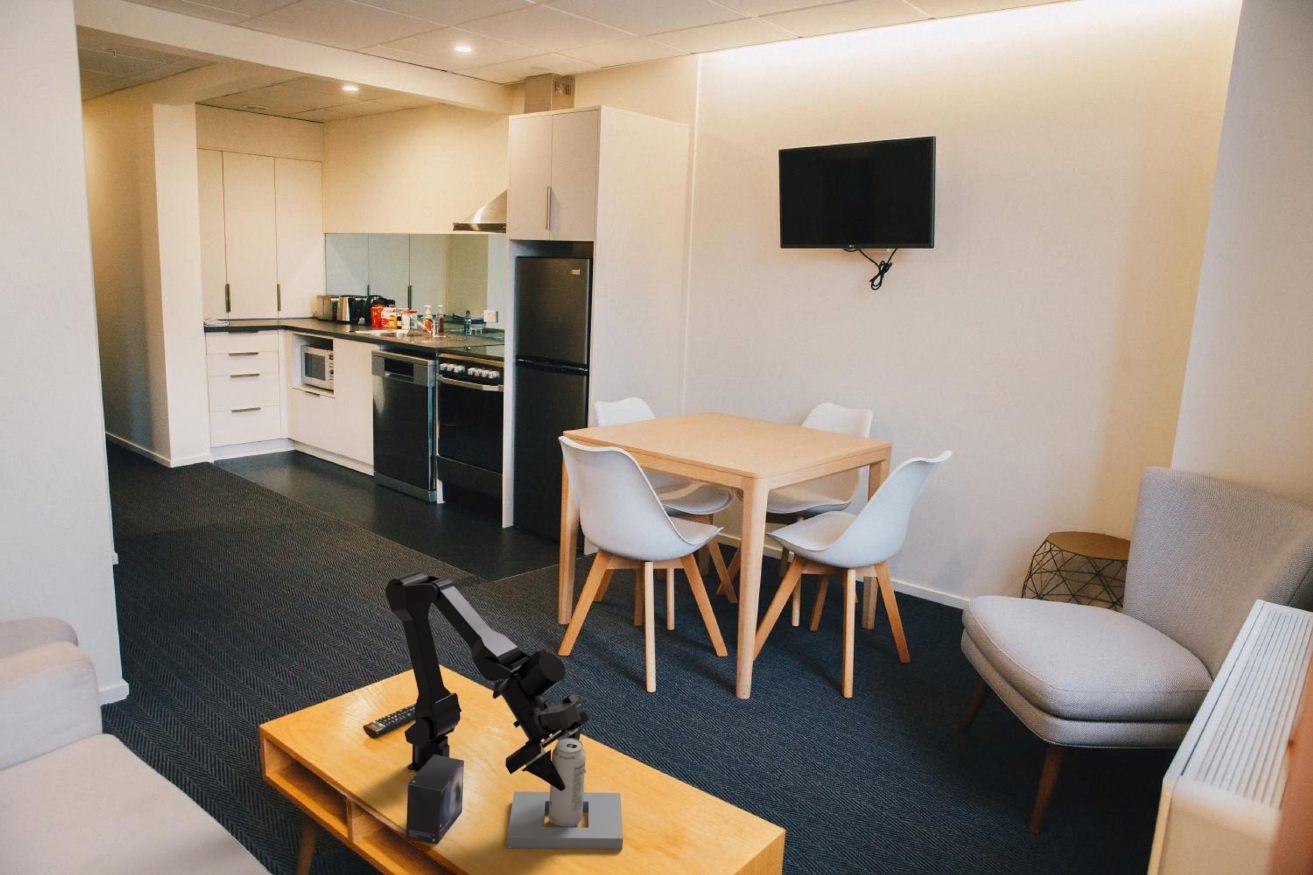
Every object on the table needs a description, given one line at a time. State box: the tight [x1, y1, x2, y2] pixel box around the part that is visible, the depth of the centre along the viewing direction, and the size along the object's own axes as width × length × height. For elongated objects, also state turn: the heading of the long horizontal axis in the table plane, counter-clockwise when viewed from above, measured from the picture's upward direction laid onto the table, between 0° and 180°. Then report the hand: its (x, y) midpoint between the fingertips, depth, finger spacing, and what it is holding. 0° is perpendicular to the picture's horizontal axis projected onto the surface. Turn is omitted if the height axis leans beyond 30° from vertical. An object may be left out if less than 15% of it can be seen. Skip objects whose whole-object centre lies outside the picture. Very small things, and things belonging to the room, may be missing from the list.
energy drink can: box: [548, 738, 587, 828], centre depth 157 cm, size 6×6×15 cm
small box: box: [405, 755, 465, 845], centre depth 155 cm, size 11×6×10 cm, turn 168°
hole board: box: [506, 790, 624, 850], centre depth 158 cm, size 20×14×2 cm
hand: (573, 781), depth 157 cm, fingers closed on energy drink can, 6 cm apart
